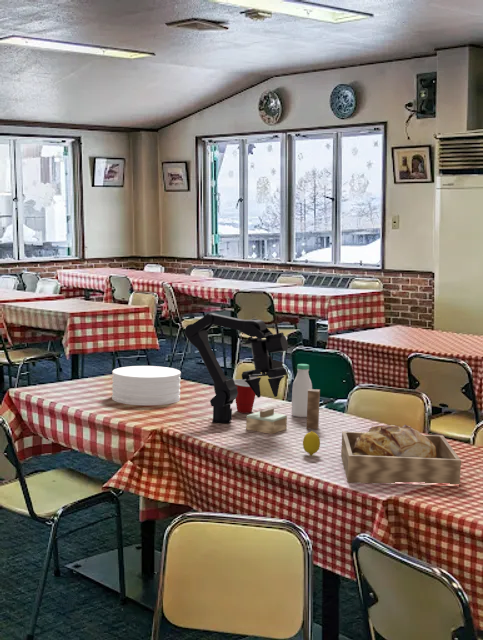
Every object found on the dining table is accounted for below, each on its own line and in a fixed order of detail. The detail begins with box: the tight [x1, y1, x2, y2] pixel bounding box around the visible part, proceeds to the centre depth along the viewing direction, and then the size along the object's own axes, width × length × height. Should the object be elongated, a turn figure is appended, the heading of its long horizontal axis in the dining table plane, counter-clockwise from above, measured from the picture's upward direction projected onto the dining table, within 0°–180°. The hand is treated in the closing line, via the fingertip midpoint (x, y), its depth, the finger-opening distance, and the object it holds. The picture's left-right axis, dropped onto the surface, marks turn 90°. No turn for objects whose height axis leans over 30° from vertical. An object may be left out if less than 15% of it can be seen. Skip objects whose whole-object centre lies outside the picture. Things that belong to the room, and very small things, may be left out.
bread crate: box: [340, 430, 462, 485], centre depth 284 cm, size 32×30×8 cm
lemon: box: [302, 430, 321, 456], centre depth 299 cm, size 6×6×8 cm
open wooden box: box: [245, 417, 288, 435], centre depth 334 cm, size 11×10×4 cm
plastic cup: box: [233, 378, 260, 414], centre depth 362 cm, size 11×11×12 cm
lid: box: [246, 407, 288, 422], centre depth 333 cm, size 11×10×3 cm
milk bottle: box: [291, 363, 313, 418], centre depth 358 cm, size 8×8×20 cm
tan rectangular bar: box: [305, 388, 321, 430], centre depth 337 cm, size 4×4×14 cm
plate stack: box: [111, 365, 182, 406], centre depth 382 cm, size 28×28×12 cm
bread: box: [353, 424, 437, 458], centre depth 285 cm, size 25×27×15 cm
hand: (267, 397), depth 335 cm, fingers open, 9 cm apart
